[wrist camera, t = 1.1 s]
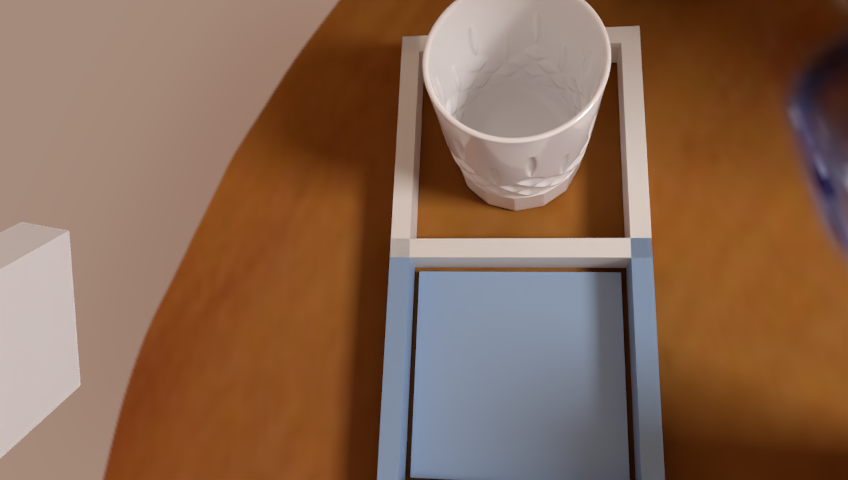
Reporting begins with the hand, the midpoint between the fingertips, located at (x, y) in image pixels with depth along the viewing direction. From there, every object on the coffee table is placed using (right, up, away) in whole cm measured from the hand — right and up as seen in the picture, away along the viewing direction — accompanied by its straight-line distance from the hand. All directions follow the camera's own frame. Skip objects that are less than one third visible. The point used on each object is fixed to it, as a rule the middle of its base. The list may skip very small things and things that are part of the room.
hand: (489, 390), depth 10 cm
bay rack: (+4, +1, +27) cm, 27 cm away
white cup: (+4, +7, +29) cm, 30 cm away
